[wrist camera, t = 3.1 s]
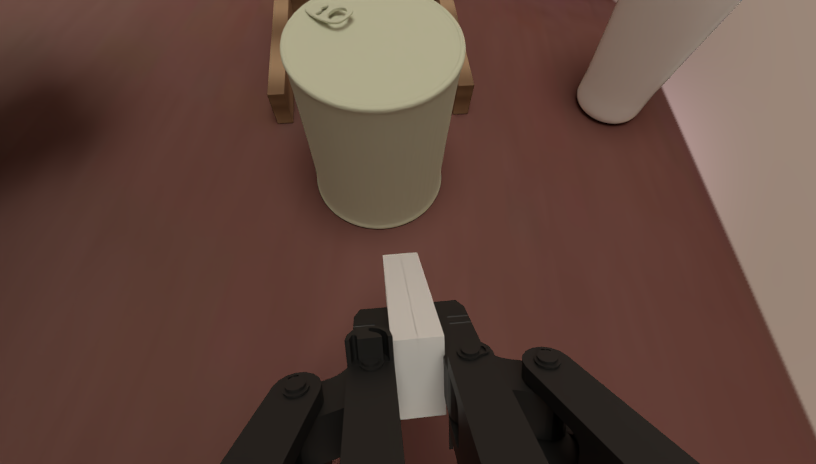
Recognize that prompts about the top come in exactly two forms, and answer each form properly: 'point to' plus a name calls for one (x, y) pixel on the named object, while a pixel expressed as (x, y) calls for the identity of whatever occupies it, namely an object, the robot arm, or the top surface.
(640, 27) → the drinking glass
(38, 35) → the top surface
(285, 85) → the corral
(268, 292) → the top surface
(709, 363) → the top surface
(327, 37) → the can
